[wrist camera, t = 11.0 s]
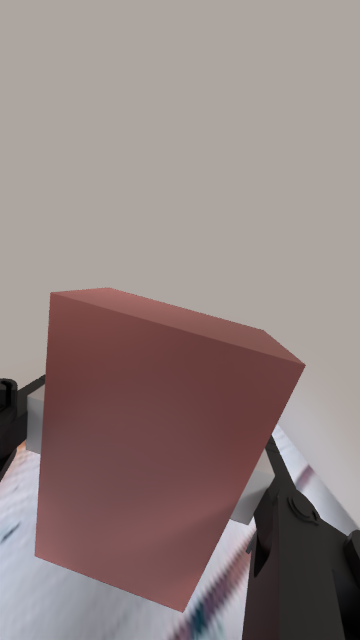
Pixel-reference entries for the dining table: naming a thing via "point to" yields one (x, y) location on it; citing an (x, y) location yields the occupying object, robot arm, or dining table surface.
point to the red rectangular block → (150, 436)
